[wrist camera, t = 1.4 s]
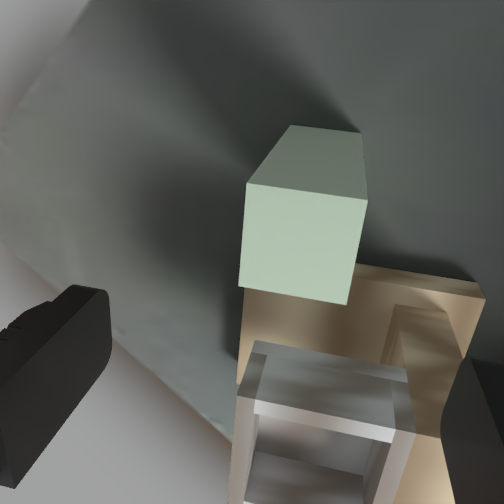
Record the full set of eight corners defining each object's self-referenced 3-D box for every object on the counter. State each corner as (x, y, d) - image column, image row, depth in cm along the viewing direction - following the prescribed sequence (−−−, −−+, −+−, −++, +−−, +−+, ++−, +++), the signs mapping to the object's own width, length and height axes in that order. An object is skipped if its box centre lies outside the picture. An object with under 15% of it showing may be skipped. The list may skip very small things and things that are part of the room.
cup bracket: (477, 282, 27) (557, 436, 17) (434, 404, 32) (476, 588, 21) (253, 246, 29) (196, 363, 19) (242, 365, 34) (191, 515, 23)
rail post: (361, 133, 25) (368, 200, 14) (348, 200, 27) (346, 305, 16) (290, 124, 26) (246, 182, 15) (282, 191, 27) (238, 286, 17)
